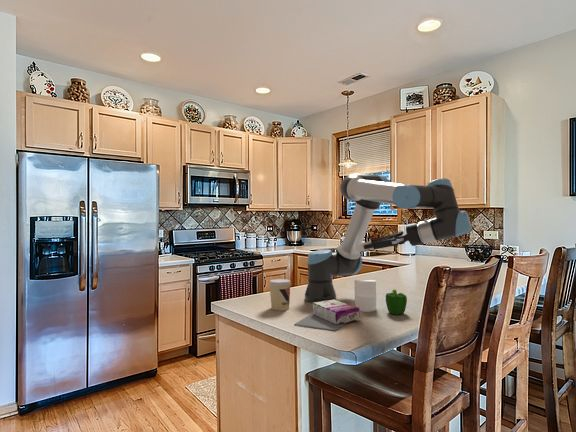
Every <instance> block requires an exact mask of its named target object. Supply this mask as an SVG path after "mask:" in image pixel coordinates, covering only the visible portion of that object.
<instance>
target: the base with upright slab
mask: <svg viewBox="0 0 576 432" xmlns="http://www.w3.org/2000/svg"><path fill="white" fill-rule="evenodd" d="M354 306H355V307H358V308H359V312H367V313H368V312H375V311H377V280H375V279H367V280H365V279H364V280H363V279H360V280H357V279H354Z"/></svg>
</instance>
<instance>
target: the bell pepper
mask: <svg viewBox="0 0 576 432" xmlns="http://www.w3.org/2000/svg"><path fill="white" fill-rule="evenodd" d="M397 292H398V291H397V290H396V289H392V291H391V292H388V293H387V292H386V293H385V304H386V307H387V311H388V313H389V314H391V315H394V316H395V315H396V316H399V315H401V314H404V313H405V312H406V307H407V303H408V297H407V295H406V294H404V293H403V292H399V293H397Z"/></svg>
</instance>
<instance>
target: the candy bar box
mask: <svg viewBox="0 0 576 432" xmlns="http://www.w3.org/2000/svg"><path fill="white" fill-rule="evenodd" d="M312 313H313V314H314V315H316V316H318V317H320V318H323V319H325V320H327V321H329V322H331V323H334V324H341V323H345V324H346V323H350V322H357V321H360V320H361V317H360V316H361V315H360V314H361V313H360V311H359V308H358V307H355V305H352V304H348V303H346V302H343V301H340V300H337V299H336V300H335V299H334V300H327V301H321V302H312Z"/></svg>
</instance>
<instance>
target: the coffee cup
mask: <svg viewBox="0 0 576 432" xmlns="http://www.w3.org/2000/svg"><path fill="white" fill-rule="evenodd" d="M291 283H292V282H291V280H290V279H287V278H273V279H270V280H269V282H268V284H269V295H270V304H271V305H270V306H271V309H272V310H273V309H276V310H275V311H284V310H283V309H287V310H289V309H290V300H291V299H290V298H291ZM288 308H289V309H288Z"/></svg>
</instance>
